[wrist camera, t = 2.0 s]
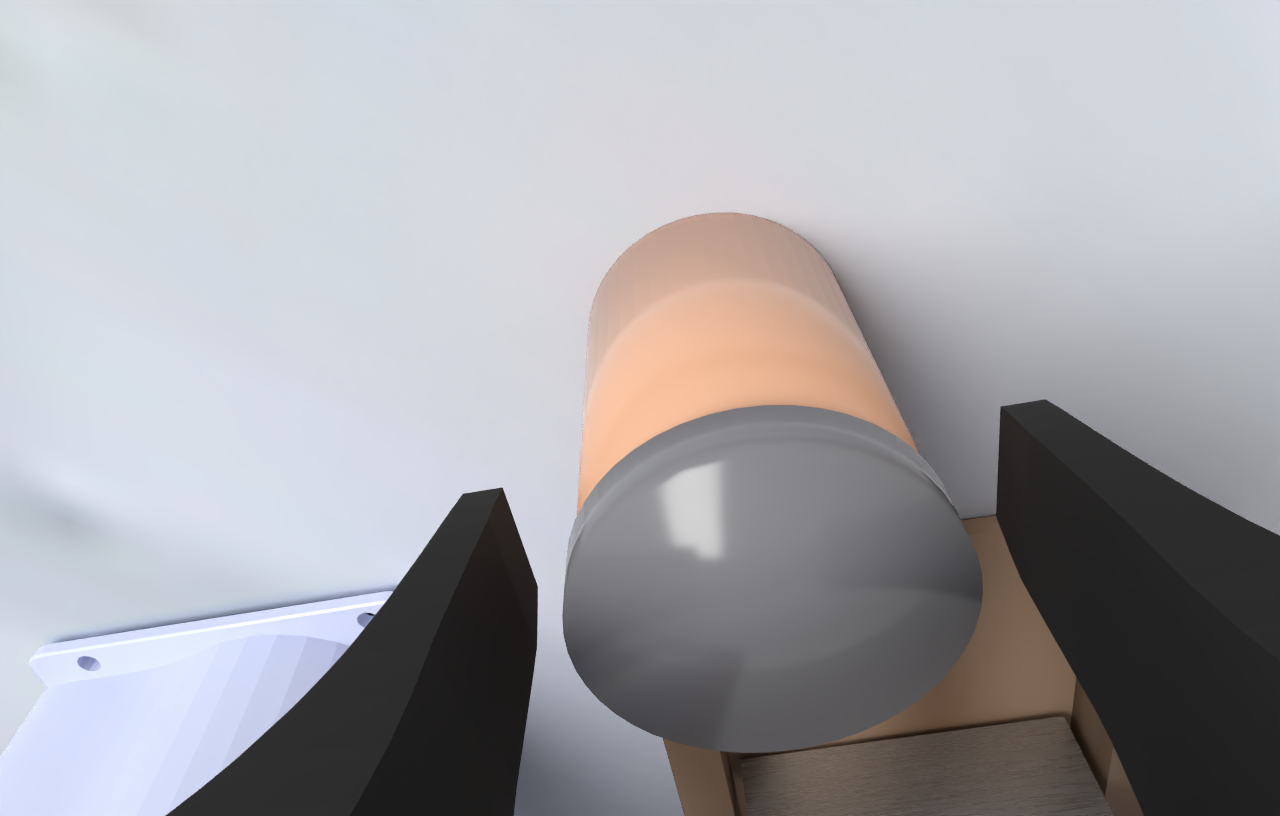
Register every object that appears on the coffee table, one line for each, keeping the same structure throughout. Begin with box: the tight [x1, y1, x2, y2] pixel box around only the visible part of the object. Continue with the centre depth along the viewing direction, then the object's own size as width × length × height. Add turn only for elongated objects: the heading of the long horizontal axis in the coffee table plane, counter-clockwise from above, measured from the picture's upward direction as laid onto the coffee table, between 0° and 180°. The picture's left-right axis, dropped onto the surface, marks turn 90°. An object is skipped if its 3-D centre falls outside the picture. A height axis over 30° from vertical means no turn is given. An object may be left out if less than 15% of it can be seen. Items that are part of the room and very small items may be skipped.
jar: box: [563, 213, 983, 753], centre depth 14 cm, size 5×5×8 cm
